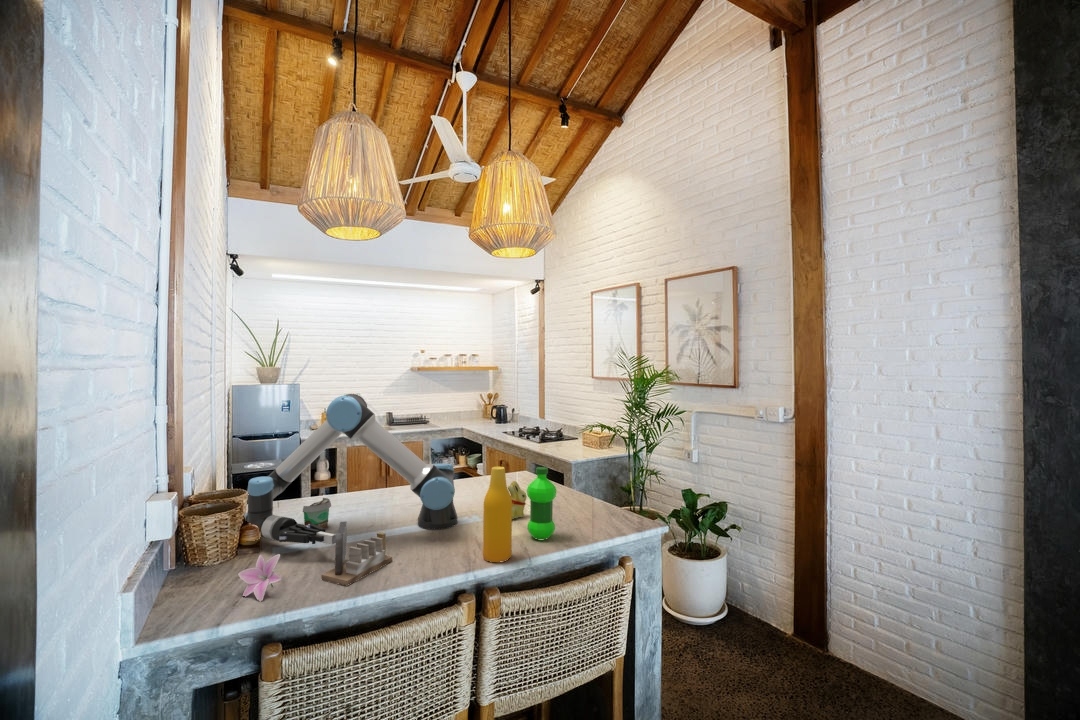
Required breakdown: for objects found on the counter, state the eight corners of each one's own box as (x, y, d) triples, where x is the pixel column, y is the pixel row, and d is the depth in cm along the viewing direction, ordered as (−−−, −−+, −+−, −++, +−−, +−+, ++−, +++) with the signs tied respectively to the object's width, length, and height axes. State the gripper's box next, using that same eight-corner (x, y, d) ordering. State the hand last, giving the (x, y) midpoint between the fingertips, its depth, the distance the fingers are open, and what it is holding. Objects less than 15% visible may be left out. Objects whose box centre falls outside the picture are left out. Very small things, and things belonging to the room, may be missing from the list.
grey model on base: (346, 586, 141) (347, 539, 141) (321, 579, 145) (321, 534, 145) (392, 561, 158) (392, 520, 158) (368, 556, 162) (368, 516, 162)
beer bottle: (487, 565, 156) (488, 472, 156) (479, 554, 165) (480, 466, 165) (515, 560, 160) (516, 469, 160) (505, 550, 168) (506, 464, 168)
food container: (317, 535, 180) (317, 507, 180) (302, 534, 182) (302, 506, 182) (337, 524, 192) (338, 498, 192) (323, 523, 194) (323, 497, 194)
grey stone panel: (342, 569, 147) (342, 535, 147) (335, 570, 147) (336, 536, 146) (346, 552, 160) (346, 521, 159) (340, 553, 159) (340, 521, 159)
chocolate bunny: (529, 517, 204) (530, 480, 204) (506, 522, 197) (506, 484, 197) (520, 513, 209) (520, 477, 209) (497, 517, 203) (498, 480, 203)
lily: (237, 592, 139) (225, 569, 134) (279, 564, 146) (270, 542, 142) (255, 619, 132) (244, 596, 127) (299, 589, 139) (290, 566, 135)
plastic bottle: (527, 532, 186) (528, 465, 186) (555, 533, 186) (556, 465, 185) (525, 542, 176) (526, 471, 176) (555, 543, 176) (556, 471, 175)
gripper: (296, 533, 173) (349, 544, 164) (262, 546, 161) (316, 559, 152) (297, 511, 173) (349, 521, 164) (262, 523, 161) (317, 534, 152)
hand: (333, 539), depth 158 cm, fingers closed
